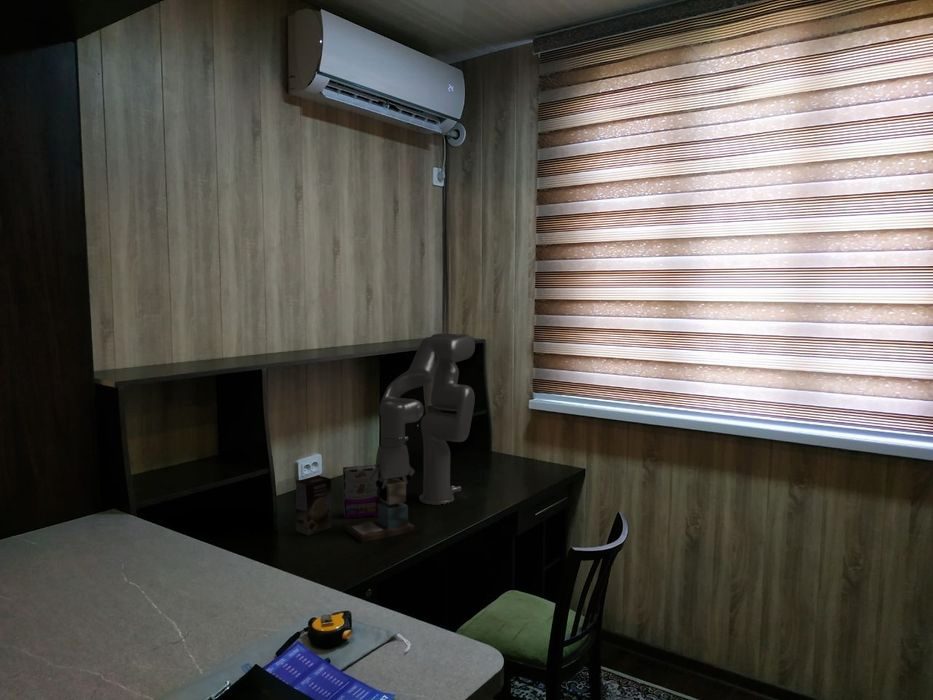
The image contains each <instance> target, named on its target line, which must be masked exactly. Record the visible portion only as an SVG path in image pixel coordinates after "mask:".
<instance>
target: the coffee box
mask: <svg viewBox="0 0 933 700" xmlns="http://www.w3.org/2000/svg"><path fill="white" fill-rule="evenodd" d="M331 528H332V478H329V477H327V476H322V475H314V476H312V477H307V478H303V479H297V480H295V531H296V532H297V533H300V534H303V535H306V536H310V535H314V534H317V533H321V532H323V531H326V530H329V529H331Z"/></svg>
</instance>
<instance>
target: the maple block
mask: <svg viewBox="0 0 933 700" xmlns="http://www.w3.org/2000/svg"><path fill="white" fill-rule="evenodd" d="M385 488H387V501H384V500H382V499H381V498H380V497H379V500H380V501H382V503H384V502H385V503H387V504H388V505H392V504H396V503H401V502H402V503H405V502H407V484H406V483H405V482H403V481H401V480H400V479H399V478H393V479H388V481H387V484H386V487H385Z"/></svg>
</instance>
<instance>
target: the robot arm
mask: <svg viewBox="0 0 933 700" xmlns="http://www.w3.org/2000/svg"><path fill="white" fill-rule="evenodd" d="M475 349H476V343H475V339H474V338H473V337H472V335H469V334H461V333H458V334H457V333H435V334H431V336H429V337H425V338H424V339H422V340H421V342H420V344H419V346H418V349H417V350H416V352H415V356H414V358H413V359H412V362H411V364H410V367H409V368H408V370H406V371H405V372H403V373H401V374H400V375H398V376H397V377H396V378H395V379H394V380H392V381H391V382H390V383H389V385H388V386H387V387H386V389H385V391H384V394H383V395H382V398H381V401H380V404H379V414H380V445H379V446H378V447H377V452H376V459H375V465H376V468H375V472H374V473H373V474H372V476H371V477H370V479H371V480H372V481H374V482H375V483H376V484H377V485H378V487H379V499H380V498H381V499H382V500H384V501H387V488H385V487H386V484H387V481H388V480H390V479H396V478H397V479H399V480H401V481H403V482H405V483H406V485H408V482H409V481H410V480H411V478H412V476H414V474H415V473H416V471H415V469H414V468H413V467H412V466H411V464H410V455H409V451H408V446H407V445H406V442H407V441H408V440H409V437H408V435H407V436H406V424H411V423H417V422H418V421H420V420H421V421H420V430H421V435H422V441H423V492H422V493H421V494H420V495H418V500H419V502H421V503H422V504H426V505H430V504H431V506H442V505H441V504H443V505H448V504H450V502H451V503H453V502H454V500H455V495H454V493H459V492H461V491H462V487H461V485H457V486H454V485H451V449H450V447H449V446H450V445H449V444H448V443H447V442H456V443H462V442H465V441H466V440H467V439H468V438H469V435H470V431H471V430H470V429H471V424H472V420H473V415H474V407H475V403H476V402H475V400H476V399H475V397H476V396H475V395H476V394H475V392H474V390H473V388H472V387H471V386H470V385H466V384H458V381H459V375H460V371H459V368H458V365H457V364H456V363H458V362H461V361H465V360H468V359H470V358H471V357H473V355H474V353H475ZM432 380H433V384H432V389H431V393H430V404H431V406H432V407H433V408H435V409H438V410H441V411H442V410H443V411H452V412H453V411H454V412H456V414H455V413H454V414H453V413H446V412H437V411H436V412H434V411H433V412H427V413H426V414H425V415H424V405H423V404H422V402H421V401H419V400H418V399H414V398H404V397H401V396H402V395H404V394H405V393H406V392H408V391H411V390H414V389H418V388H420V387H423V386H426V385H428V384H430V383H431V382H432ZM378 477H379V479H377V478H378ZM447 503H448V504H447Z"/></svg>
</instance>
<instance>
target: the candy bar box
mask: <svg viewBox="0 0 933 700" xmlns="http://www.w3.org/2000/svg"><path fill="white" fill-rule="evenodd" d="M375 468H376V464H372V465H371V464H370V465H356V466H343V467H342V476H343V477H342V485H343V486H342V488H343V516H344V519H345V520H347V519H360V518H369V517H378V504H379V492H378V487H379V486H378V485H377V484H376V483H375V482H374V481H372V480H371V479H370V477H371V476H372V474H373V473H374V472H375ZM377 479H378V477H377ZM378 480H379V479H378Z"/></svg>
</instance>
